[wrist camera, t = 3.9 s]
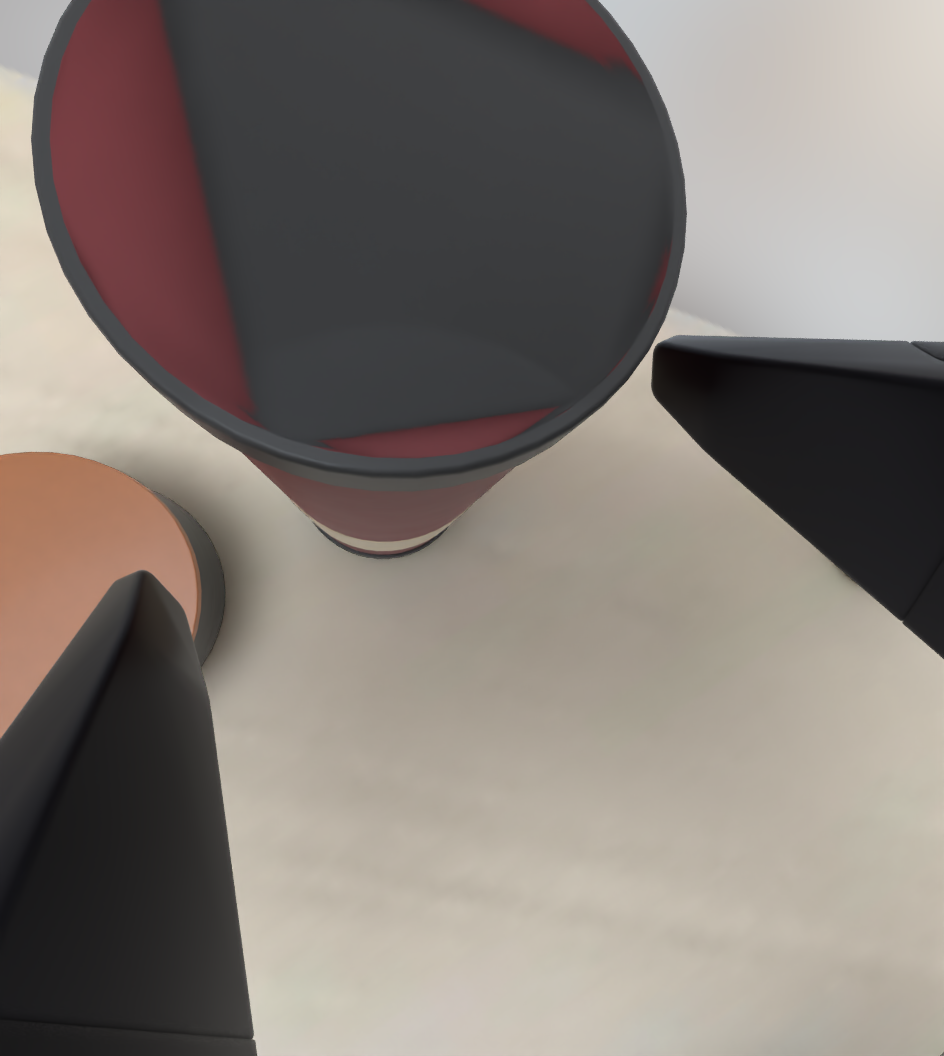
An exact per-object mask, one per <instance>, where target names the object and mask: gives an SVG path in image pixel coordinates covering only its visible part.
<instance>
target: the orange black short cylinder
mask: <svg viewBox="0 0 944 1056" xmlns="http://www.w3.org/2000/svg"><path fill="white" fill-rule="evenodd" d="M139 570H147V571H149V572H150V573H152V574H153V575H154V576H155V577H156V578H157V579H158V580H159V582H160V583H161V584H162V585H163V586H164V587H165V588H166V589H167V590H168V591H169V592H170V593H171V594H172V595H173V597H174V598H175V599H176V600H177V601H178V602H179V603H180V605H181V606H182V608H183V609H184V611H185V614H186V616H187V620H188V623H189V627H190V631H191V634H192V638H193V641H194V645H195V649H196V652H197V656H198V659H199V663H200V666H202V664H203V663H204V661H205V659H206V658H207V656H208V655H209V653H210V651H211V649H212V647H213V645H214V643H215V640H216V638H217V636H218V633H219V629H220V626H221V623H222V618H223V612H224V606H225V586H224V577H223V572H222V568H221V564H220V560H219V558H218V555H217V553H216V550H215V548H214V546H213V544H212V542H211V541H210V539H209V537H208V536H207V534H206V532H205V531H204V530H203V529H202V527H201V526H200V525H199V523H198V522H197V521H196V520H195V519H194V518H193V517H192V516H191V515H190V514H189V513H188V512H187V511H186V510H184V509H183V508H182V507H180V506H179V505H178V504H176V503H175V502H173V501H172V500H170V499H168V498H167V497H165V496H163V495H161V494H159V493H157V492H155V491H152V490H150V489H148V488H146V487H145V486H144V485H142V484H141V483H140V482H138V481H137V480H135V479H133V478H132V477H130V476H128V475H126V474H124V473H122V472H121V471H119V470H116V469H114V468H112V467H109V466H107V465H104V464H101V463H99V462H96V461H93V460H90V459H86V458H82V457H78V456H74V455H67V454H60V453H53V452H24V453H13V454H5V455H0V738H1V737H2V736H3V734H4V733H5V732H6V730H7V729H8V727H9V726H10V725H11V723H12V722H13V721H14V719H15V718H16V716H17V715H18V714H19V712H20V711H21V709H22V708H23V707H24V705H25V704H26V703H27V701H28V700H29V698H30V697H31V696H32V694H33V693H34V692H35V690H36V689H37V687H38V686H39V685H40V683H41V682H42V680H43V679H44V678H45V676H46V675H47V674H48V672H49V671H50V669H51V668H52V667H53V665H54V664H55V663H56V661H57V660H58V658H59V657H60V656H61V654H62V653H63V652H64V650H65V649H66V647H67V646H68V645H69V643H70V642H71V640H72V639H73V638H74V636H75V635H76V634H77V632H78V631H79V629H80V628H81V627H82V625H83V624H84V623H85V621H86V620H87V618H88V617H89V616H90V614H91V613H92V611H93V610H94V609H95V607H96V606H97V605H98V603H99V602H100V600H101V599H102V598H103V596H104V595H105V594H106V592H107V591H108V589H109V588H110V587H111V585H112V584H113V583H114V582H115V581H116V580H118V579H120V578H122V577H125V576H127V575H129V574H132V573H134V572H136V571H139Z"/></svg>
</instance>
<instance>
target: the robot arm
mask: <svg viewBox="0 0 944 1056" xmlns="http://www.w3.org/2000/svg"><path fill="white" fill-rule="evenodd" d="M651 388H652V392H653V395H654V396H655V398H656V399H657V401H658V402H659V403H660V404H661V405H662V406H663V407H664V408H665V409H666V410H667V411H668V412H669V414H670V415H671V416H672V417H673V418H674V419H675V420H676V421H677V422H678V423H679V424H680V425H681V426H682V428H683V429H684V430H685V431H686V432H687V433H688V434H689V435H690V436H691V437H692V438H693V439H694V440H695V442H696V443H697V444H698V445H699V446H700V447H701V448H702V449H703V450H704V451H705V452H706V453H707V454H708V455H710V456H711V457H712V458H713V459H714V460H715V461H716V462H717V463H718V464H720V465H721V466H722V467H723V468H724V469H725V470H727V471H728V472H729V473H730V474H731V475H732V476H733V477H735V478H736V479H737V480H738V481H739V482H740V483H742V484H743V485H744V486H745V487H746V488H747V489H749V490H750V491H751V492H752V493H753V494H754V495H755V496H757V497H758V498H759V499H760V500H761V501H762V502H764V503H765V504H766V505H767V506H768V507H769V508H770V509H772V510H773V511H774V512H775V513H776V514H777V515H779V516H780V517H781V518H782V519H783V520H784V521H785V522H787V523H788V524H789V525H790V526H791V527H792V528H794V529H795V530H796V531H797V532H798V533H799V534H801V535H802V536H803V537H804V538H805V539H806V540H807V541H809V542H810V543H811V544H812V545H813V546H814V547H816V548H817V549H818V550H819V551H820V552H821V553H822V554H824V555H825V556H826V557H827V558H828V559H829V560H831V561H832V562H833V563H834V564H835V565H836V566H838V567H839V568H840V569H841V570H842V571H843V572H844V573H846V574H847V575H848V576H849V577H850V578H851V579H853V580H854V581H855V582H856V583H857V584H858V585H859V586H861V587H862V588H863V589H864V590H865V591H866V592H868V593H869V594H870V595H871V596H872V597H873V598H874V599H876V600H877V601H878V602H879V603H880V604H881V605H883V606H884V607H885V608H886V609H887V610H888V611H890V612H891V613H892V614H893V615H894V616H895V617H896V618H898V619H899V620H900V621H903V624H904V625H905V626H906V627H907V628H908V629H910V630H911V631H912V632H913V633H914V634H915V635H917V636H918V637H919V638H920V639H921V640H922V641H924V642H925V643H926V644H927V645H928V646H929V647H930V648H932V649H933V650H934V651H935V652H936V653H937V654H939V655H940V656H941V657H942V658H943V659H944V342H924V341H923V342H922V341H913V342H911V343H909V342H907V341H882V340H844V339H804V338H767V337H728V336H690V335H677V336H673V337H671V338H669V339H667V340H664V341H662V342H660V343H658V344H657V345H656V346H655V349H654V351H653V362H652V381H651ZM253 1036H254V1031H253V1024H252V1016H251V1009H250V1001H249V994H248V986H247V978H246V971H245V963H244V956H243V948H242V940H241V933H240V925H239V918H238V910H237V903H236V895H235V887H234V880H233V872H232V865H231V857H230V850H229V842H228V834H227V827H226V819H225V812H224V804H223V796H222V789H221V781H220V774H219V766H218V759H217V751H216V743H215V736H214V728H213V721H212V713H211V707H210V701H209V696H208V692H207V688H206V684H205V681H204V677H203V674H202V670H201V666H200V663H199V659H198V656H197V652H196V649H195V645H194V641H193V638H192V634H191V631H190V627H189V623H188V620H187V616H186V614H185V611H184V609H183V608H182V606H181V605H180V603H179V602H178V601H177V600H176V599H175V598H174V597H173V595H172V594H171V593H170V592H169V591H168V590H167V589H166V588H165V587H164V586H163V585H162V584H161V583H160V582H159V580H158V579H157V578H156V577H155V576H154V575H153V574H152V573H150V572H149V571H147V570H139V571H136V572H134V573H132V574H129V575H127V576H125V577H122V578H120V579H118V580H116V581H115V582H114V583H113V584H112V585H111V587H110V588H109V589H108V591H107V592H106V594H105V595H104V596H103V598H102V599H101V600H100V602H99V603H98V605H97V606H96V607H95V609H94V610H93V611H92V613H91V614H90V616H89V617H88V618H87V620H86V621H85V623H84V624H83V625H82V627H81V628H80V629H79V631H78V632H77V634H76V635H75V636H74V638H73V639H72V640H71V642H70V643H69V645H68V646H67V647H66V649H65V650H64V652H63V653H62V654H61V656H60V657H59V658H58V660H57V661H56V663H55V664H54V665H53V667H52V668H51V669H50V671H49V672H48V674H47V675H46V676H45V678H44V679H43V680H42V682H41V683H40V685H39V686H38V687H37V689H36V690H35V692H34V693H33V694H32V696H31V697H30V698H29V700H28V701H27V703H26V704H25V705H24V707H23V708H22V709H21V711H20V712H19V714H18V715H17V716H16V718H15V719H14V721H13V722H12V723H11V725H10V726H9V727H8V729H7V730H6V732H5V733H4V734H3V736H2V737H1V738H0V1056H257V1051H256V1043H255V1040H253V1039H252V1038H253ZM940 1056H944V1052H943V1053H942V1054H941V1055H940Z"/></svg>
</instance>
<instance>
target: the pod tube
mask: <svg viewBox="0 0 944 1056" xmlns="http://www.w3.org/2000/svg"><path fill="white" fill-rule="evenodd" d="M31 143H32V155H33V166H34V178H35V186H36V190H37V194H38V198H39V202H40V206H41V210H42V214H43V218H44V222H45V226H46V230H47V234H48V236H49V238H50V241H51V243H52V246H53V248H54V251H55V253H56V255H57V258H58V260H59V263H60V265H61V268H62V270H63V273H64V275H65V277H66V278H67V280H68V282H69V283H70V285H71V287H72V289H73V290H74V292H75V294H76V295H77V297H78V299H79V300H80V302H81V304H82V306H83V307H84V309H85V311H86V312H87V314H88V316H89V317H90V318H91V320H92V321H93V322H94V323H95V325H96V326H97V327H98V328H99V330H100V331H101V332H102V333H103V335H104V336H105V337H106V339H107V340H108V341H109V342H110V344H111V345H112V346H113V347H114V349H115V350H116V351H117V352H118V354H119V355H120V356H121V357H122V358H123V359H124V360H125V361H127V362H128V363H129V364H130V365H131V366H132V367H133V368H134V369H135V370H136V371H137V372H138V373H139V374H140V375H141V376H142V377H143V378H144V379H145V380H146V381H147V382H148V383H149V384H150V385H151V386H152V387H153V388H154V389H156V390H157V391H158V392H159V393H160V394H161V395H163V396H164V397H165V398H166V399H167V400H168V401H170V402H171V403H172V404H173V405H174V406H175V407H176V408H178V409H179V410H180V411H181V412H182V413H184V414H185V415H186V416H188V417H189V418H190V419H192V420H193V421H194V422H196V423H197V424H198V425H200V426H201V427H202V428H204V429H205V430H206V431H208V432H209V433H211V434H212V435H213V436H215V437H216V438H218V439H219V440H221V441H223V442H225V443H226V444H228V445H230V446H232V447H234V448H235V449H237V450H239V451H241V452H242V453H243V454H244V455H245V456H246V457H247V458H248V459H249V460H250V461H251V462H252V463H253V464H254V465H255V466H257V467H258V468H259V469H260V470H261V471H262V472H263V473H264V474H265V475H266V476H267V477H268V478H269V479H270V480H271V481H272V482H273V483H274V484H276V485H277V486H278V487H279V488H280V489H281V490H282V491H283V492H284V493H285V494H286V495H287V496H288V497H289V498H290V500H291V501H292V502H293V503H294V504H295V505H296V506H297V507H298V508H299V509H300V510H301V511H302V512H303V513H304V514H305V515H306V516H307V517H308V518H309V519H311V521H312V522H313V523H314V524H315V526H316V527H317V528H318V529H319V530H320V531H321V532H322V533H323V534H324V535H325V536H326V537H327V538H328V539H329V540H331V541H332V542H333V543H335V544H336V545H337V546H339V547H341V548H343V549H344V550H346V551H349V552H351V553H354V554H356V555H360V556H364V557H368V558H376V559H390V558H397V557H402V556H406V555H409V554H412V553H414V552H417V551H419V550H421V549H423V548H424V547H426V546H428V545H429V544H431V543H432V542H433V541H434V540H436V539H437V538H438V537H439V536H440V535H441V534H442V533H443V532H444V531H445V530H446V529H447V528H448V526H449V525H450V524H451V523H453V522H454V521H455V520H456V519H457V518H459V517H460V516H461V515H462V514H463V513H464V512H465V511H466V510H467V509H468V508H469V507H470V506H471V505H472V504H473V503H474V502H475V501H476V500H477V499H479V498H480V497H481V496H482V495H483V494H484V493H485V492H487V491H488V490H489V489H490V488H491V487H492V486H494V485H495V484H496V483H497V482H498V481H499V480H500V479H502V478H503V477H504V476H505V475H506V474H507V473H509V472H510V471H511V470H512V469H513V468H514V467H515V466H518V465H520V464H522V463H524V462H526V461H527V460H529V459H531V458H532V457H534V456H536V455H538V454H539V453H541V452H543V451H545V450H546V449H548V448H550V447H552V446H553V445H554V444H555V443H557V442H558V441H559V440H561V439H562V438H563V437H564V436H566V435H567V434H568V433H570V432H571V431H572V430H573V429H575V428H576V427H577V426H579V425H580V424H581V423H582V422H584V421H585V420H586V419H587V418H589V417H590V416H591V415H592V414H594V413H595V412H596V411H597V410H599V409H600V408H601V407H602V406H603V405H604V404H605V403H606V402H607V401H608V400H609V399H610V398H611V397H612V396H613V395H614V394H615V393H616V392H617V391H618V390H619V389H620V388H621V387H622V386H623V385H624V383H625V382H626V381H627V380H628V379H629V378H630V376H631V375H632V373H633V372H634V371H635V369H636V368H637V367H638V365H639V364H640V362H641V361H642V360H643V358H644V357H645V355H646V354H647V353H648V351H649V349H650V347H651V346H652V344H653V342H654V340H655V338H656V336H657V334H658V332H659V330H660V328H661V326H662V324H663V322H664V321H665V318H666V315H667V312H668V310H669V307H670V304H671V301H672V298H673V295H674V292H675V290H676V287H677V283H678V278H679V273H680V268H681V263H682V258H683V253H684V248H685V233H686V217H687V216H686V215H687V211H686V195H685V179H684V174H683V169H682V163H681V158H680V153H679V148H678V143H677V140H676V136H675V133H674V130H673V127H672V124H671V121H670V118H669V115H668V112H667V109H666V107H665V104H664V102H663V100H662V97H661V95H660V93H659V91H658V89H657V86H656V84H655V82H654V80H653V78H652V75H651V74H650V72H649V70H648V69H647V67H646V65H645V64H644V62H643V60H642V59H641V57H640V55H639V54H638V52H637V50H636V49H635V47H634V45H633V43H632V42H631V41H630V40H629V38H628V37H627V36H626V34H625V33H624V32H623V30H622V29H621V27H620V26H619V25H618V23H617V22H616V21H615V20H614V18H613V17H612V15H611V14H610V13H609V12H608V11H607V10H606V9H605V8H604V6H603V5H602V4H601V3H600V2H599V1H598V0H72V1H71V2H70V4H69V5H68V7H67V9H66V10H65V12H64V13H63V15H62V16H61V18H60V20H59V22H58V25H57V27H56V29H55V32H54V34H53V37H52V39H51V41H50V44H49V46H48V48H47V51H46V53H45V55H44V59H43V63H42V67H41V71H40V75H39V80H38V84H37V88H36V92H35V96H34V108H33V122H32V135H31Z"/></svg>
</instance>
